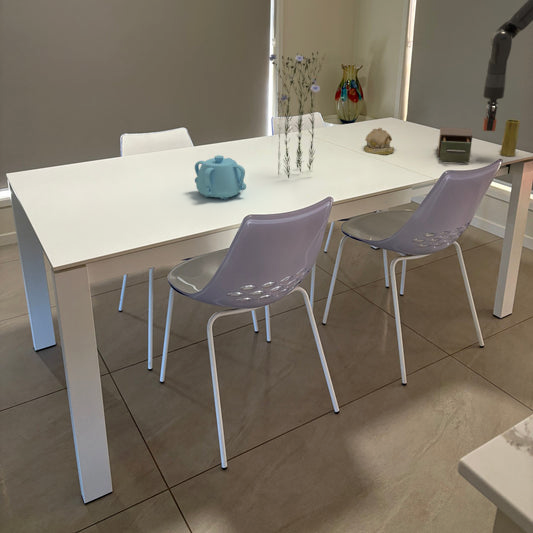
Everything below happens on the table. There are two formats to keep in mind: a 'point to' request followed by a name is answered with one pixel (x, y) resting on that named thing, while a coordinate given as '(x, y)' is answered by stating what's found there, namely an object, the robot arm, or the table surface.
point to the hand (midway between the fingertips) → (488, 128)
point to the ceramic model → (378, 142)
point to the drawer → (455, 149)
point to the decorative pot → (219, 177)
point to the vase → (510, 138)
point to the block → (486, 124)
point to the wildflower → (315, 89)
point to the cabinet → (453, 134)
